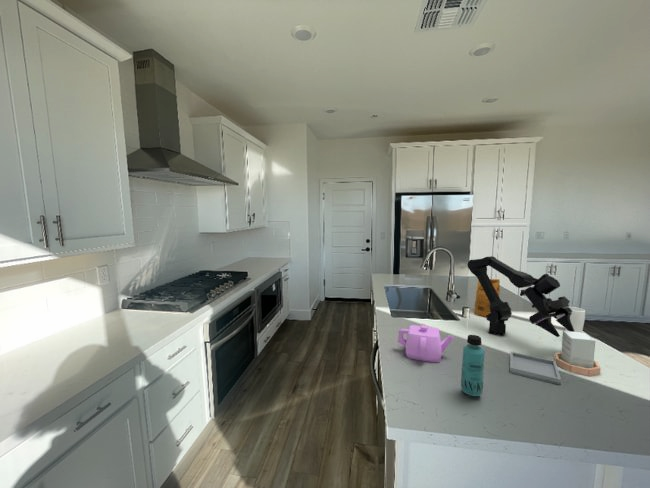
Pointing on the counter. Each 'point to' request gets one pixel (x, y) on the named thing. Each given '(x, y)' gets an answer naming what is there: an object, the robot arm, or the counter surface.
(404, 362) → the counter surface
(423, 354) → the teakettle
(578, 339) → the supplement box
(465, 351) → the beverage bottle
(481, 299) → the coffee package
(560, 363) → the segmented octagonal ring
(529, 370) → the tray
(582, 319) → the drinking glass
